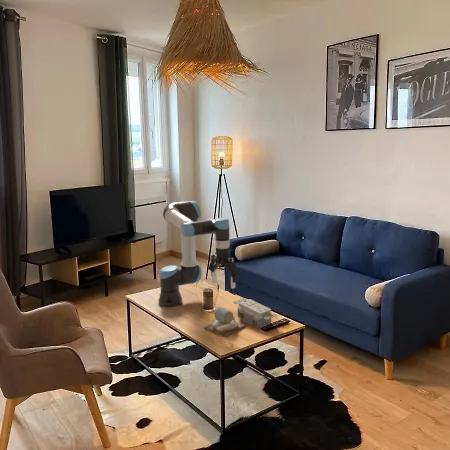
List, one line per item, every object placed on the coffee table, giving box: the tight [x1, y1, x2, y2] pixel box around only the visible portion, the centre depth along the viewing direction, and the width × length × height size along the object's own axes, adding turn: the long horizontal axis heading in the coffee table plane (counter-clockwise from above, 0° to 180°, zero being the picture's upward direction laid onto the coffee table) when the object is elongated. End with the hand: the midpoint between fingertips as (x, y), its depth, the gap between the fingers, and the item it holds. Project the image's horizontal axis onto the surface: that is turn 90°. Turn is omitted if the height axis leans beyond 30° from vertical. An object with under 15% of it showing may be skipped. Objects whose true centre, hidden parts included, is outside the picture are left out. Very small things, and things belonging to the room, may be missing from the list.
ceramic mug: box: [214, 306, 236, 324], centre depth 248 cm, size 11×8×8 cm
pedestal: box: [203, 318, 246, 338], centre depth 248 cm, size 16×16×4 cm
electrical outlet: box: [232, 298, 278, 329], centre depth 255 cm, size 12×28×10 cm, turn 39°
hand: (223, 285), depth 244 cm, fingers open, 13 cm apart
